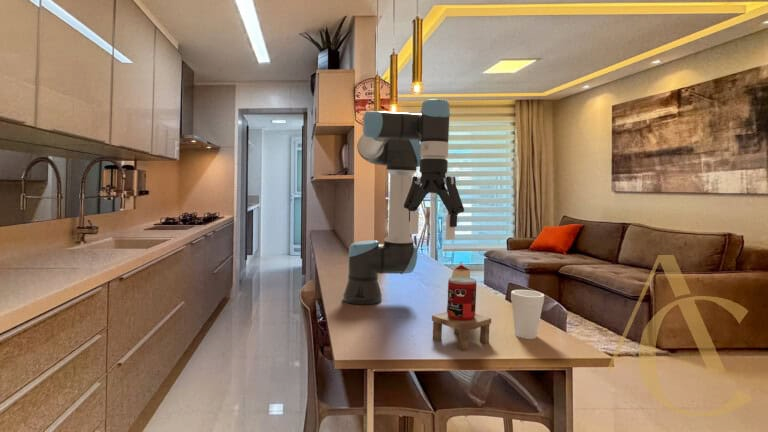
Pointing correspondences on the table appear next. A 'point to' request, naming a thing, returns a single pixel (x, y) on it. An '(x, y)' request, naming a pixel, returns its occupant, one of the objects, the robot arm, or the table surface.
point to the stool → (461, 328)
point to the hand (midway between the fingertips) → (431, 236)
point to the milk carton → (460, 273)
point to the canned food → (461, 298)
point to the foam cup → (526, 312)
